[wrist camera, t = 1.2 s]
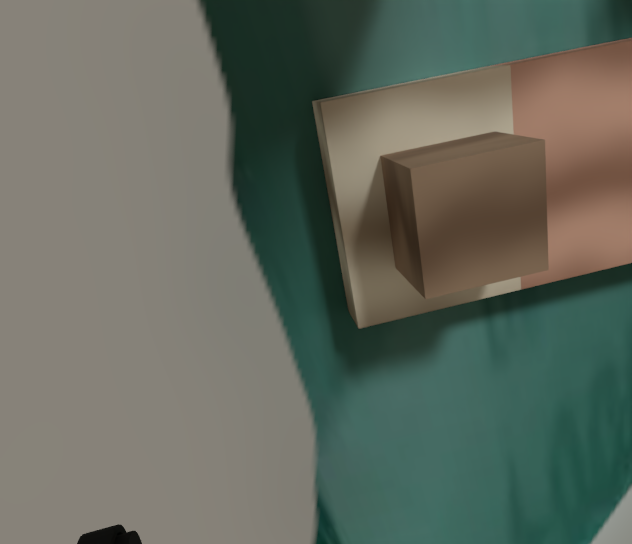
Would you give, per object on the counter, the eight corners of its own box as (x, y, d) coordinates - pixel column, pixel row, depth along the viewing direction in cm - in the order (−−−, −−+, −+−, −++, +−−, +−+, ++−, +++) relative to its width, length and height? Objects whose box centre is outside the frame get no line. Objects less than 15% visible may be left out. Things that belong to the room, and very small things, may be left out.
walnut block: (380, 155, 26) (410, 168, 22) (494, 131, 27) (544, 139, 23) (395, 268, 29) (425, 299, 24) (501, 243, 29) (548, 270, 25)
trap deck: (312, 101, 27) (320, 102, 25) (781, 8, 30) (828, 1, 28) (348, 310, 32) (358, 328, 29) (757, 213, 34) (796, 222, 32)
